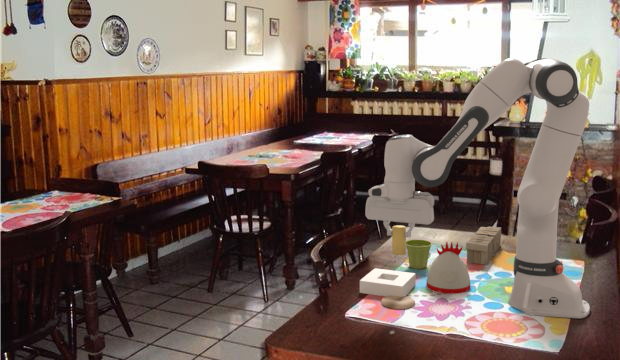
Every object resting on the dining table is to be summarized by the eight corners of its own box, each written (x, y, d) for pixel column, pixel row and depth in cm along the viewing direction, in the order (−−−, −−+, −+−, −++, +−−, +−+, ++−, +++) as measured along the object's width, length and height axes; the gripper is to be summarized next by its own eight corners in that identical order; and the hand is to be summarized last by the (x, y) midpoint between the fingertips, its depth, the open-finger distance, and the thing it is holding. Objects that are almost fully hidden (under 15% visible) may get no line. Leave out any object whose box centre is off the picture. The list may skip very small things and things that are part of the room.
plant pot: (433, 270, 227) (434, 246, 226) (406, 270, 227) (406, 246, 226) (429, 262, 236) (429, 239, 235) (403, 262, 236) (403, 239, 235)
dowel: (407, 252, 194) (407, 226, 193) (403, 255, 191) (403, 229, 189) (394, 250, 196) (394, 224, 194) (390, 254, 192) (390, 227, 191)
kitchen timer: (471, 295, 202) (472, 248, 200) (426, 292, 205) (426, 246, 202) (469, 280, 216) (470, 237, 213) (427, 278, 218) (427, 235, 216)
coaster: (419, 300, 198) (419, 298, 198) (409, 311, 189) (409, 309, 189) (387, 295, 202) (387, 293, 202) (376, 306, 194) (376, 304, 193)
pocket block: (415, 285, 212) (415, 273, 211) (402, 298, 199) (402, 286, 199) (374, 279, 218) (374, 268, 217) (359, 292, 205) (359, 280, 205)
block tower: (480, 246, 261) (464, 263, 235) (481, 225, 260) (465, 240, 233) (501, 248, 257) (486, 266, 231) (501, 227, 256) (487, 243, 230)
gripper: (437, 190, 188) (436, 237, 191) (370, 186, 197) (370, 230, 199) (431, 194, 183) (430, 242, 185) (363, 189, 192) (363, 235, 194)
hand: (399, 236), depth 192 cm, fingers closed on dowel, 4 cm apart
